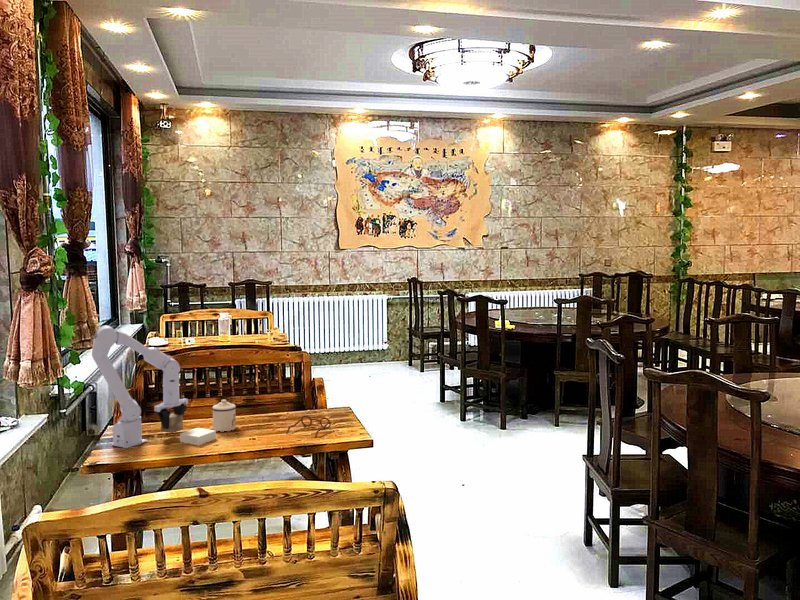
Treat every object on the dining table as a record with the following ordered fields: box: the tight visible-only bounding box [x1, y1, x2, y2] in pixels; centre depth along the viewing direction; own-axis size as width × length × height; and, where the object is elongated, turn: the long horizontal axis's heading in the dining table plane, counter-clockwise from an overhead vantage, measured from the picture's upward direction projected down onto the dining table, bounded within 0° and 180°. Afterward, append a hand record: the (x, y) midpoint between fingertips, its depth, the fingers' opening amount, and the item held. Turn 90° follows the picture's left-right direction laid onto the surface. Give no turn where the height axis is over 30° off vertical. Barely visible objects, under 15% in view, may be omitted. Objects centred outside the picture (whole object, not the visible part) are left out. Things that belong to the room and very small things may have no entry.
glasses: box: [285, 415, 332, 439], centre depth 256 cm, size 13×13×5 cm
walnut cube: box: [160, 412, 184, 434], centre depth 247 cm, size 6×6×6 cm
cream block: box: [179, 427, 217, 446], centre depth 244 cm, size 9×9×4 cm
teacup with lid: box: [211, 399, 237, 433], centre depth 260 cm, size 12×9×12 cm
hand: (172, 426), depth 247 cm, fingers closed on walnut cube, 5 cm apart
